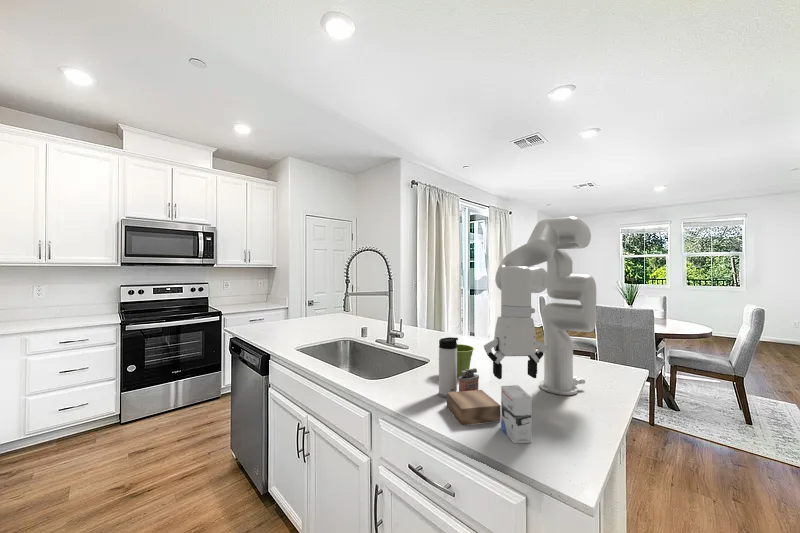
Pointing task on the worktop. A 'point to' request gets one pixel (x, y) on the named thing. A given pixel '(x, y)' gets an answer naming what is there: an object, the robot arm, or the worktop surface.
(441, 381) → the travel mug
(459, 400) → the walnut block
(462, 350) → the plant pot
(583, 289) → the robot arm
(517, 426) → the ink box
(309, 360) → the worktop surface
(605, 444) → the worktop surface
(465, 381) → the lighter
